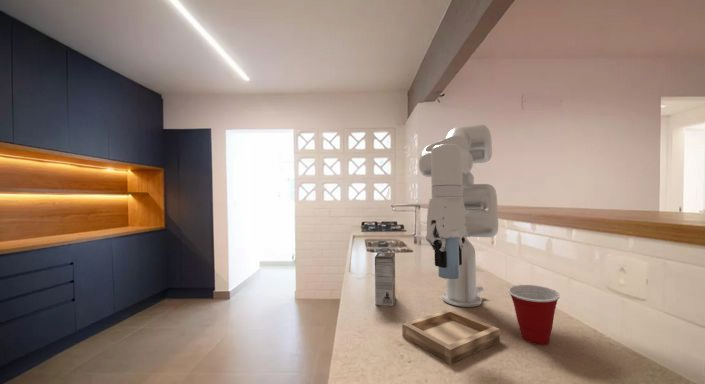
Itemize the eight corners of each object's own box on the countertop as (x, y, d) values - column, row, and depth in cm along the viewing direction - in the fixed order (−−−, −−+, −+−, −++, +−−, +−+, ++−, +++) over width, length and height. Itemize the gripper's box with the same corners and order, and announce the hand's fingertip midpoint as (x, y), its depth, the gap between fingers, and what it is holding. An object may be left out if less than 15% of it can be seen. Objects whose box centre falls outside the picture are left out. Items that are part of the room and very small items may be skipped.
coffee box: (377, 296, 101) (377, 251, 102) (395, 297, 100) (395, 252, 101) (374, 305, 92) (374, 256, 93) (394, 306, 91) (393, 257, 92)
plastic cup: (499, 334, 72) (497, 286, 72) (528, 326, 76) (526, 282, 76) (541, 355, 61) (539, 300, 62) (572, 345, 65) (570, 294, 66)
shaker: (447, 272, 73) (446, 228, 74) (464, 277, 69) (463, 230, 69) (433, 275, 71) (432, 229, 71) (450, 280, 66) (449, 231, 67)
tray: (449, 319, 81) (449, 309, 81) (499, 341, 68) (499, 328, 68) (402, 335, 71) (402, 323, 71) (450, 364, 58) (450, 349, 58)
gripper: (456, 194, 78) (457, 259, 78) (411, 193, 70) (412, 266, 69) (480, 193, 72) (482, 264, 71) (435, 192, 63) (436, 273, 62)
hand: (448, 264), depth 70 cm, fingers closed on shaker, 5 cm apart
